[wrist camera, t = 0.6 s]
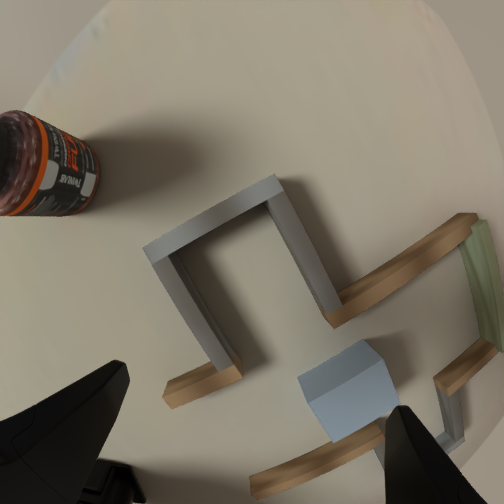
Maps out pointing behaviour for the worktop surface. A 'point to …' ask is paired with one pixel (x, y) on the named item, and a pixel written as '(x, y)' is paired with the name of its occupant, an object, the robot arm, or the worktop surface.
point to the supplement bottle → (43, 168)
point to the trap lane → (332, 318)
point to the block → (349, 390)
